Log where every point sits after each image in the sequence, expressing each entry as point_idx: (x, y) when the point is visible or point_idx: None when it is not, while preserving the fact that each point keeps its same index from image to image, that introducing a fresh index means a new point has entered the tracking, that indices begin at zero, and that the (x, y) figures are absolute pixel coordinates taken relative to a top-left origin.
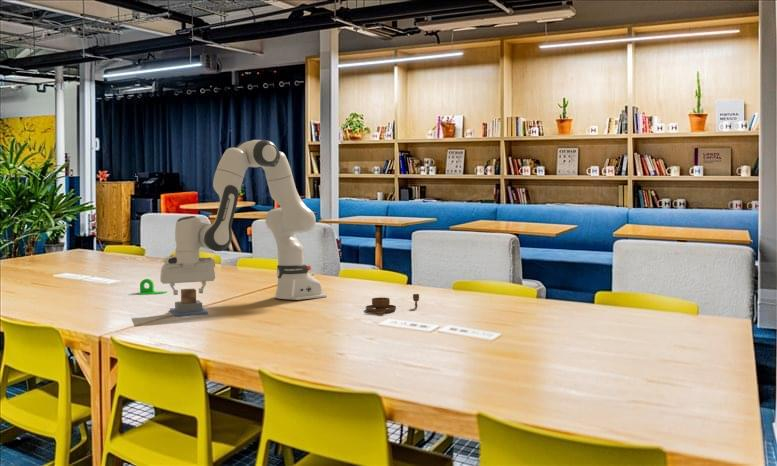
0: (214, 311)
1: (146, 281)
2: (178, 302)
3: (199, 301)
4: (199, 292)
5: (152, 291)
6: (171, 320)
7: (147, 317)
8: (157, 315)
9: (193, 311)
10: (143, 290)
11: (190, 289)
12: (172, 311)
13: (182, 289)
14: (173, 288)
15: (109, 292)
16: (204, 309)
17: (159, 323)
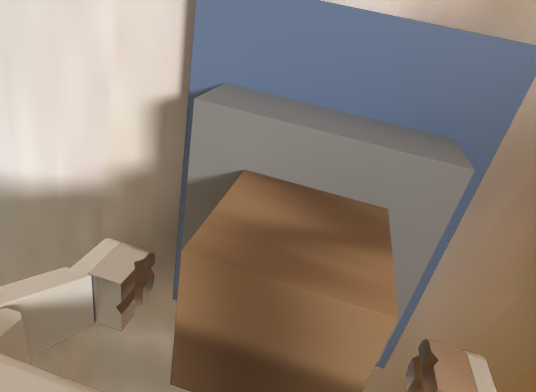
0: (494, 301)
1: None
2: (213, 182)
3: (418, 265)
4: (408, 384)
5: None
6: (144, 364)
7: (32, 205)
8: (88, 176)
9: None
10: None
11: (293, 370)
12: (182, 177)
13: (196, 294)
14: (50, 338)
15: None
16: (430, 267)
17: (89, 382)
